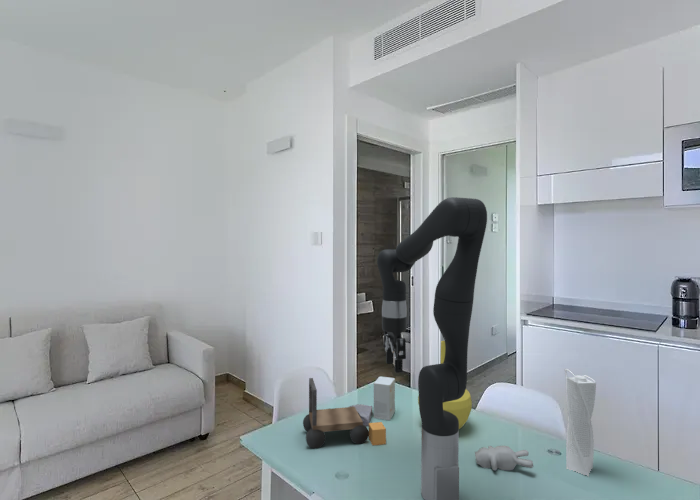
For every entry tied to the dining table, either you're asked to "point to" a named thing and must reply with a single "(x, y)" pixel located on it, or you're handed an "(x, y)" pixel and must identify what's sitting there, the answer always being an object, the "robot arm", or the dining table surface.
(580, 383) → the skyscraper
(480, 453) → the bunny figurine
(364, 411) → the stone block
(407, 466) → the dining table surface
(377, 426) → the block
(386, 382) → the small box
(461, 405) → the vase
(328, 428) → the trolley
